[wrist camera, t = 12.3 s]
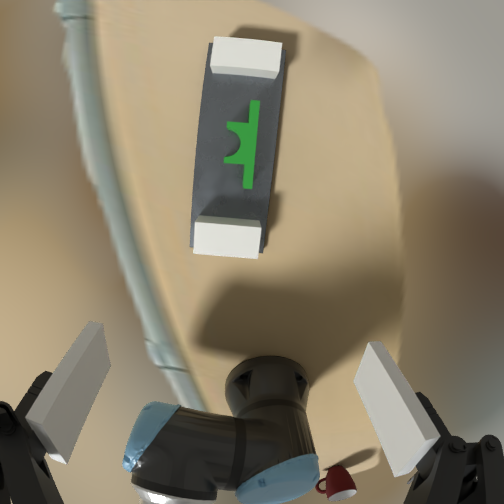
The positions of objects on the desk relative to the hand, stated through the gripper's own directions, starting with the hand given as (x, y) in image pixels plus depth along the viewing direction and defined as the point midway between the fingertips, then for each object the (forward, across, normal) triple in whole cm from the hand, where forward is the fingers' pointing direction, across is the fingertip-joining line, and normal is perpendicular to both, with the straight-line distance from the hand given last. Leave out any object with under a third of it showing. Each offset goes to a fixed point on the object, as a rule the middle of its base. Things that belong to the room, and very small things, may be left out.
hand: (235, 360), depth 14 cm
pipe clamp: (+28, 0, -10) cm, 30 cm away
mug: (+29, -32, +67) cm, 80 cm away
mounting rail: (+29, +1, -10) cm, 30 cm away
